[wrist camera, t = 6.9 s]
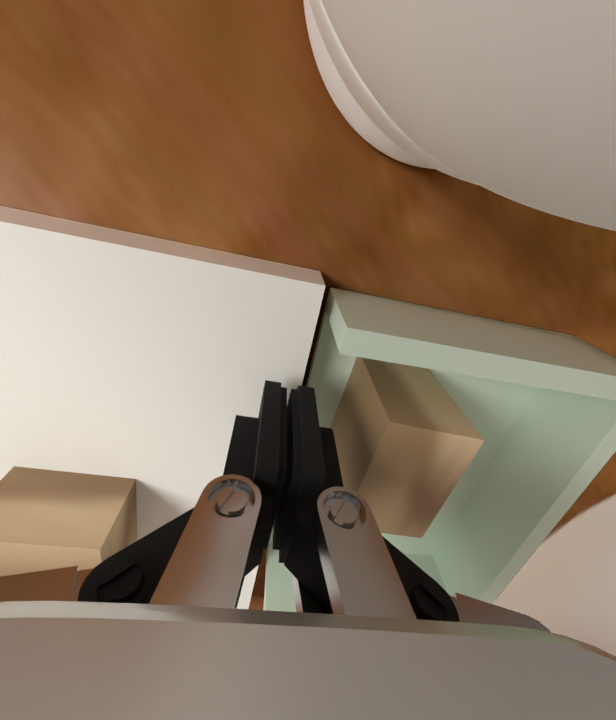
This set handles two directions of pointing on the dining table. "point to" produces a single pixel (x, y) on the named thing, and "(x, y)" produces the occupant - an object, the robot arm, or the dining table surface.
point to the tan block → (63, 519)
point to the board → (140, 355)
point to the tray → (490, 418)
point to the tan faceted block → (401, 443)
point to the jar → (482, 92)
